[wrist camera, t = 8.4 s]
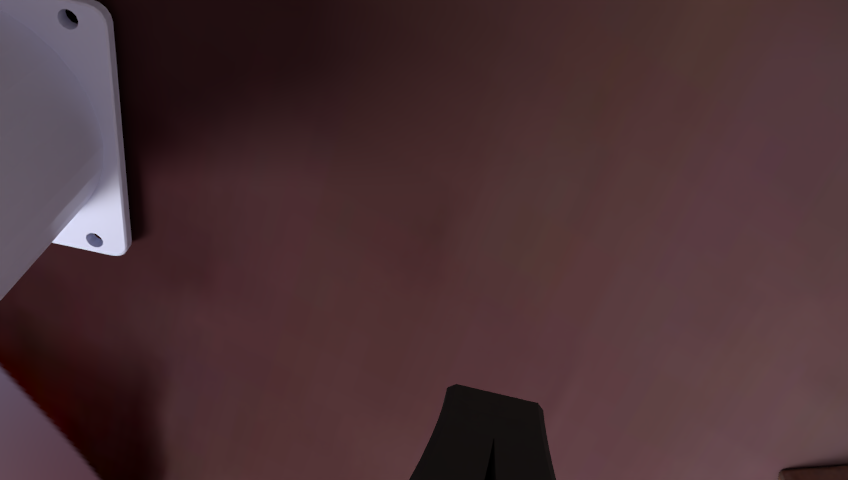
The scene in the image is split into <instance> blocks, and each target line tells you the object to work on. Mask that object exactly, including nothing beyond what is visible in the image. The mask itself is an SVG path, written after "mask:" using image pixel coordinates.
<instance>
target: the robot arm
mask: <svg viewBox="0 0 848 480" xmlns="http://www.w3.org/2000/svg"><path fill="white" fill-rule="evenodd" d="M66 9H68V10H70V11H72V12H73V13H74V14H75V15H76V17H77V20H78V24H76V23H74V22H72V21H71V20H70V19H69V18H68V17H67V15H66V12H65V10H66ZM93 233H94V234H97V235H99V236H100V237H101V238H102V240H101V239H99V238H97V237H96V236H95V235H94V234H93ZM131 242H132V238H131V226H130V214H129V203H128V191H127V179H126V167H125V156H124V144H123V132H122V120H121V109H120V97H119V85H118V74H117V62H116V50H115V38H114V27H113V20H112V17H111V14H110V13H109V11H108V10H107V8H106V7H105V6H103V5H102V4H101V3H100V2H98V1H95V0H0V300H1V299H2V298H3V297H4V296H5V295H6V294H7V293H8V291H9V290H10V289H11V288H12V287H13V286H14V285H15V283H16V282H17V281H18V280H19V279H20V278H21V277H22V275H23V274H24V273H25V272H26V271H27V270H28V269H29V268H30V266H31V265H32V264H33V263H34V262H35V261H36V260H37V258H38V257H39V256H40V255H41V254H42V253H43V252H44V251H45V249H46V248H47V247H48V246H49V245H50V244H51V243H57V244H62V245H66V246H71V247H75V248H80V249H85V250H89V251H94V252H99V253H103V254H108V255H112V256H120V255H123V254H124V253H125V252H126V251H127V250H128V248H129V247H130V246H131ZM409 480H556V478H555V474H554V469H553V465H552V461H551V456H550V451H549V446H548V441H547V435H546V429H545V423H544V415H543V410H542V408H541V407H540V406H539V404H538V403H535V402H531V401H526V400H522V399H518V398H513V397H509V396H505V395H501V394H496V393H492V392H488V391H483V390H479V389H475V388H471V387H466V386H462V385H458V384H456V385H453V386H450V387H448V388H447V391H446V395H445V399H444V403H443V407H442V410H441V413H440V416H439V419H438V421H437V424H436V426H435V429H434V431H433V433H432V436H431V438H430V440H429V442H428V444H427V447H426V449H425V451H424V453H423V455H422V457H421V459H420V461H419V463H418V465H417V467H416V468H415V470H414V472H413V474H412V476H411V478H410V479H409Z"/></svg>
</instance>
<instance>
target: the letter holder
mask: <svg viewBox="0 0 848 480" xmlns="http://www.w3.org/2000/svg"><path fill="white" fill-rule="evenodd" d="M778 480H848V465H839V466H828V467H827V466H826V467H808V468H795V469H785V470H783V471H781V472H779V477H778Z"/></svg>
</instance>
